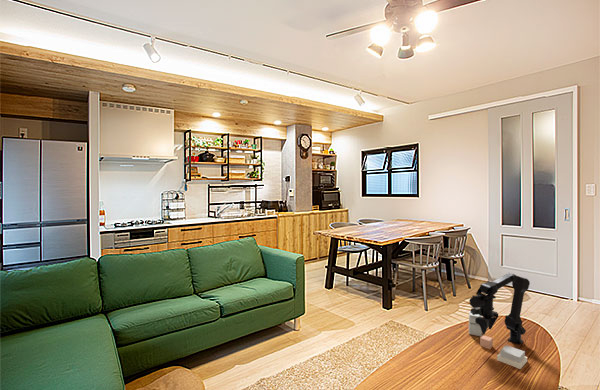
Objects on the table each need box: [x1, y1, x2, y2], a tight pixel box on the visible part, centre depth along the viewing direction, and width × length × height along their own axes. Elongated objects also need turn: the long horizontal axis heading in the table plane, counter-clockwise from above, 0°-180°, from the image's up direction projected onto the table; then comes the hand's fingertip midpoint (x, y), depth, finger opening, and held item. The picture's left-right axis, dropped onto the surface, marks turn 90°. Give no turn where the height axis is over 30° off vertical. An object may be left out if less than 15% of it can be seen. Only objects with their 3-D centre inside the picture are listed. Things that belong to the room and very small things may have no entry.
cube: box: [479, 334, 494, 350], centre depth 187 cm, size 5×5×5 cm
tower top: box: [499, 344, 526, 363], centre depth 172 cm, size 9×9×3 cm
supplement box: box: [468, 310, 483, 338], centre depth 203 cm, size 7×7×13 cm
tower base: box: [496, 352, 528, 370], centre depth 172 cm, size 11×11×3 cm
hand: (486, 331), depth 187 cm, fingers open, 9 cm apart
